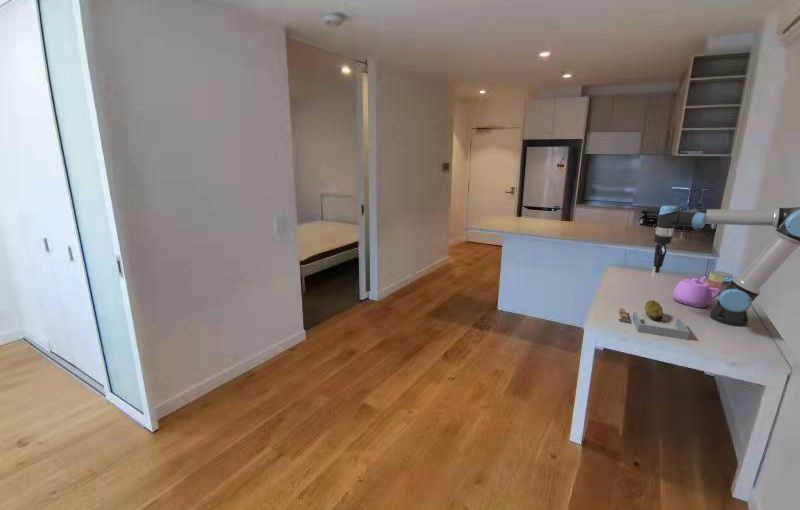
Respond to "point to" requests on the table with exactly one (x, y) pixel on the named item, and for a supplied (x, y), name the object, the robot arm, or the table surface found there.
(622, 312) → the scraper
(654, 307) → the potato
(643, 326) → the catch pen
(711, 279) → the canned food
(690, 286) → the teapot
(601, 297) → the table surface
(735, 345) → the table surface
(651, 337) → the table surface
